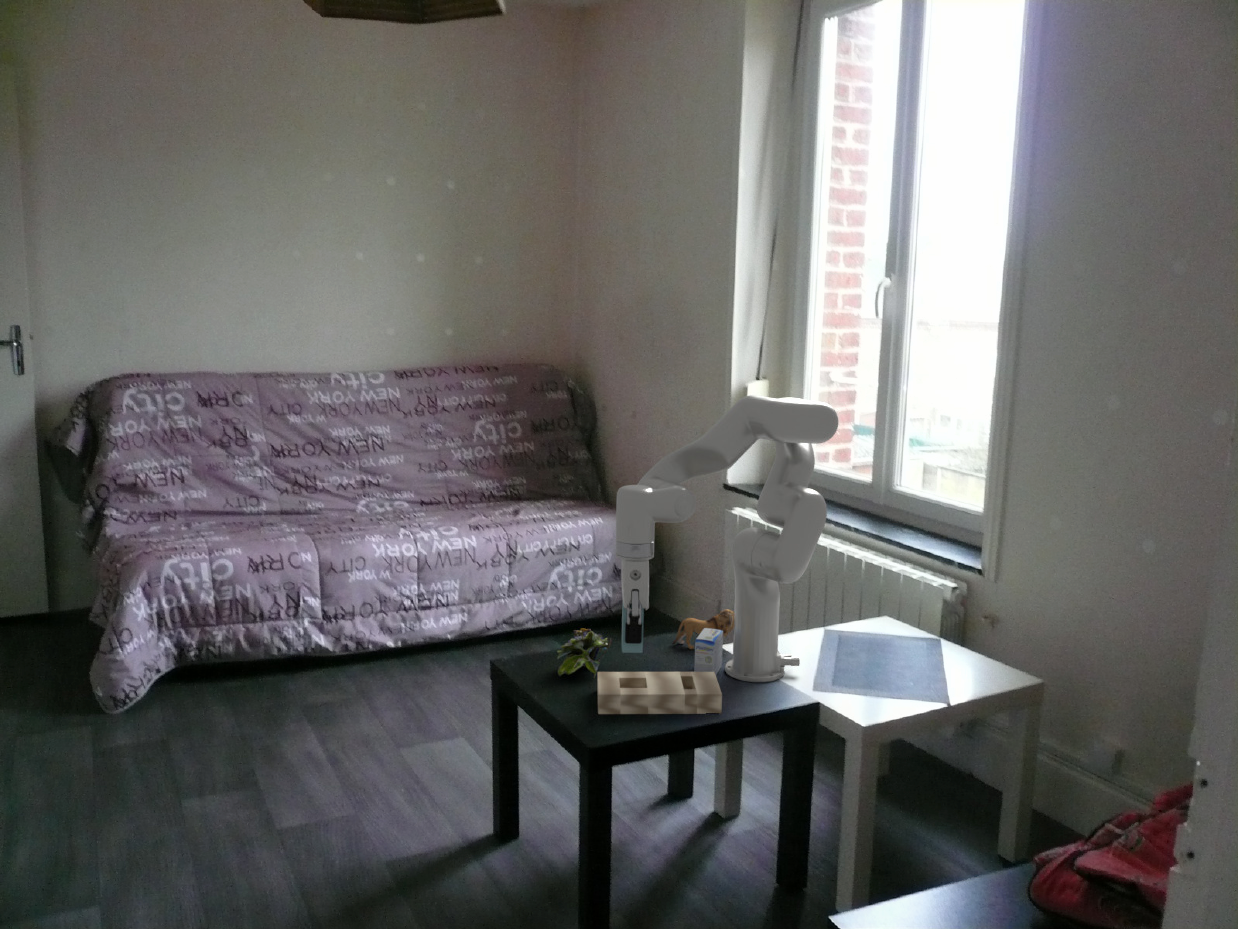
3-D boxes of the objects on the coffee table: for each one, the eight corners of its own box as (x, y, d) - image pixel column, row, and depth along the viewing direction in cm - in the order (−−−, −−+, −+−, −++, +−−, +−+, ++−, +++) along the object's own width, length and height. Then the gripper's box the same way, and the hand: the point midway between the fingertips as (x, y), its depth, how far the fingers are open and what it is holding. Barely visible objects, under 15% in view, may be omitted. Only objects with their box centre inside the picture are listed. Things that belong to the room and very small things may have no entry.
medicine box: (702, 665, 235) (703, 627, 234) (722, 667, 234) (723, 629, 232) (693, 677, 228) (694, 638, 226) (714, 680, 226) (715, 641, 225)
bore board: (713, 690, 221) (714, 671, 220) (721, 713, 209) (721, 694, 208) (597, 690, 220) (597, 671, 219) (598, 714, 208) (598, 694, 207)
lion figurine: (733, 643, 249) (734, 606, 247) (736, 651, 244) (737, 613, 242) (670, 642, 249) (671, 605, 248) (671, 650, 244) (672, 612, 242)
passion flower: (581, 690, 234) (605, 640, 238) (605, 698, 225) (629, 646, 228) (541, 668, 230) (565, 617, 233) (563, 675, 220) (589, 622, 223)
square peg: (641, 645, 214) (642, 597, 213) (642, 652, 210) (643, 603, 209) (621, 645, 214) (622, 597, 212) (622, 652, 210) (623, 603, 208)
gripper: (657, 560, 201) (654, 653, 204) (651, 538, 217) (649, 625, 220) (616, 559, 200) (615, 653, 203) (614, 538, 217) (612, 625, 220)
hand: (632, 638), depth 212 cm, fingers closed on square peg, 4 cm apart
